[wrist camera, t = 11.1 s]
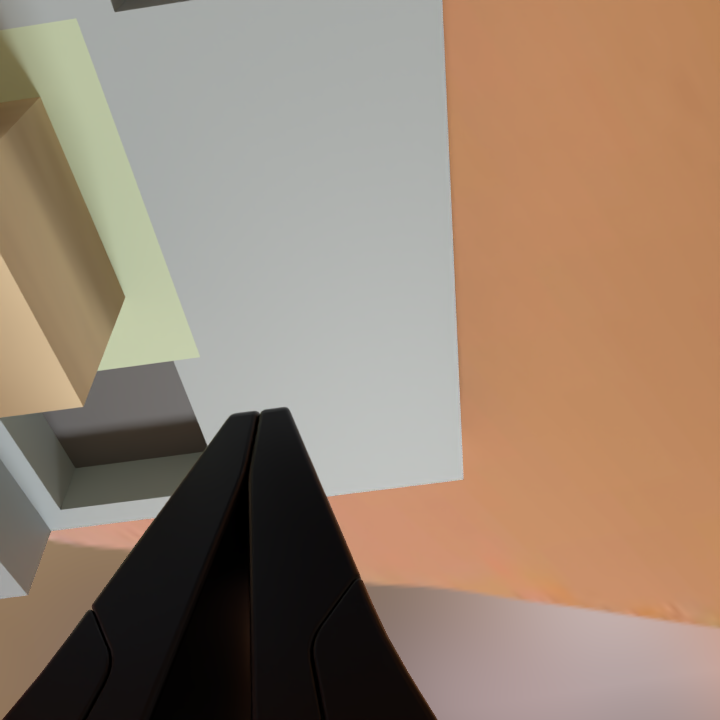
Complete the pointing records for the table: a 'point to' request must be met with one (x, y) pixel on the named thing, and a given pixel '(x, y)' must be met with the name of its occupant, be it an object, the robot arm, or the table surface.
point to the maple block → (48, 271)
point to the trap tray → (243, 246)
